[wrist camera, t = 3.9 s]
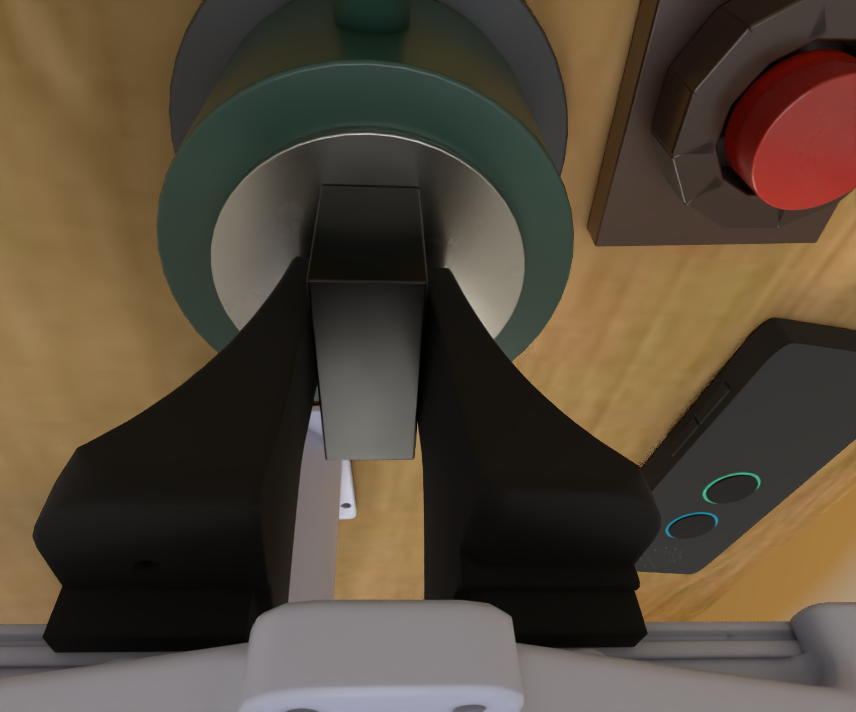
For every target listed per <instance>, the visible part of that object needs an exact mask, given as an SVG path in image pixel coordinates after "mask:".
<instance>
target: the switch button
mask: <svg viewBox="0 0 856 712" xmlns="http://www.w3.org/2000/svg"><path fill="white" fill-rule="evenodd" d="M724 147H725V154H726V157H727V160H728V162H729V164H730V166H731V167H732V168H733V169H734V171H735V172H736V173H737V174H738V175H739V176H740V177H741V178H742V179H743V180H744V181H745V183H746V184H747V185H748V186H749V187H750V188H751V189H752V190H753V191H754V192H755V193H756V195H757V196H758V197H759V198H760V199H761V200H763V201H764V202H765V203H767V204H769V205H770V206H773V207H776V208H779V209H785V210H803V209H808V208H813V207H816V206H820V205H823V204H825V203H828V202H830V201H833V200H835V199H837V198H839V197H841V196H842V195H844V194H846V193H848V192H849V191H851V190H852V189H854V188H855V187H856V58H854V57H853V56H851V55H849V54H847V53H845V52H843V51H839V50H835V49H815V50H811V51H806V52H803V53H799V54H796V55H794V56H792V57H789V58H787V59H785V60H783V61H782V62H780V63H778V64H776V65H775V66H773V67H772V68H771V69H769V70H768V71H766V72H765V73H764V74H763V75H762V76H760V77H759V78H758V79H757V80H756V81H755V82H754V83H753V84H752V85H751V86H750V87H749V88H748V90H747V91H746V92H745V93H744V94H743V96H742V97H741V99H740V100H739V101H738V103H737V105H736V106H735V108H734V110H733V112H732V114H731V116H730V119H729V121H728V124H727V128H726V132H725V141H724Z"/></svg>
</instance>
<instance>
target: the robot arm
mask: <svg viewBox="0 0 856 712" xmlns="http://www.w3.org/2000/svg"><path fill="white" fill-rule="evenodd" d="M309 261H310V257H302V256H296V257H295V258H294V259H292V260H291V262H290V264H289V266H288V268H287V269H286V271H285V273H284V274H283V276H282V278H281V279H280V281H279V282H278V284H277V285H276V287H275V288H274V290H273V291H272V292H271V294H270V295H269V296H268V298H267V299H266V300H265V302H264V303H263V304H262V306H261V307H260V308H259V310H258V311H257V312H256V313H255V315H254V316H253V317H252V318H251V319H250V320H249V321H248V323H247V324H246V325H245V326H244V327H243V328H242V329H241V331H240V332H239V333H238V334H237V335H236V336H235V337H234V338H233V339H232V340H231V341H230V342H229V343H228V344H227V345H226V346H225V347H224V348H223V349H222V350H221V351H220V352H219V353H218V354H217V355H216V356H215V357H214V358H213V359H212V360H211V361H210V362H208V363H207V364H206V365H205V366H204V367H203V368H202V369H200V370H199V371H198V372H197V373H195V374H194V375H193V376H192V377H191V378H189V379H188V380H187V381H186V382H185V383H183V384H182V385H181V386H179V387H178V388H177V389H175V390H174V391H173V392H171V393H170V394H169V395H167V396H166V397H164V398H163V399H161V400H160V401H158V402H157V403H155V404H154V405H152V406H151V407H149V408H148V409H146V410H145V411H143V412H142V413H140V414H139V415H137V416H135V417H134V418H132V419H130V420H129V421H127V422H125V423H123V424H122V425H120V426H118V427H116V428H114V429H112V430H110V431H109V432H107V433H105V434H103V435H101V436H99V437H98V438H96V439H94V440H92V441H90V442H88V443H86V444H84V445H82V446H80V447H78V448H77V449H76V451H75V452H74V454H73V455H72V457H71V459H70V460H69V462H68V463H67V465H66V466H65V468H64V469H63V471H62V472H61V474H60V476H59V477H58V479H57V480H56V482H55V484H54V486H53V488H52V490H51V492H50V494H49V496H48V498H47V501H46V503H45V505H44V507H43V509H42V511H41V513H40V515H39V517H38V520H37V522H36V524H35V527H34V531H33V536H32V537H33V540H34V542H35V545H36V547H37V549H38V551H39V552H40V554H41V555H42V556H43V558H44V559H45V561H46V562H47V564H48V565H49V567H50V568H51V570H52V571H53V573H54V574H55V576H56V577H57V578H58V580H59V581H60V583H61V584H62V589H61V591H60V594H59V596H58V599H57V601H56V604H55V606H54V609H53V611H52V614H51V616H50V619H49V621H48V624H0V712H856V602H854V603H852V602H846V603H845V602H833V603H831V602H828V603H818V604H815V605H811V606H808V607H806V608H805V609H802V610H801V611H799V612H798V613H797V614H796V615H794V616H793V617H792V619H791V620H790V622H789V621H788V622H644V619H643V616H642V613H641V610H640V607H639V603H638V600H637V597H636V594H635V591H634V590H637V589H638V588H639V587H640V581H639V578H638V575H637V571H636V568H635V565H634V564H635V563H636V562H637V561H638V559H639V558H640V557H641V556H642V554H643V553H644V552H645V551H646V549H647V548H648V547H649V546H650V545H651V543H652V542H653V541H654V539H655V538H656V536H657V534H658V532H659V530H660V529H661V515H660V512H659V510H658V507H657V504H656V502H655V499H654V496H653V494H652V492H651V489H650V487H649V485H648V483H647V481H646V479H645V477H644V475H643V473H642V471H641V469H640V467H639V466H638V465H637V464H635V463H633V462H632V461H630V460H629V459H627V458H626V457H624V456H623V455H621V454H619V453H618V452H616V451H615V450H613V449H612V448H610V447H609V446H607V445H605V444H604V443H602V442H601V441H599V440H598V439H597V438H595V437H594V436H592V435H591V434H590V433H588V432H587V431H586V430H584V429H583V428H582V427H580V426H579V425H578V424H576V423H575V422H574V421H573V420H571V419H570V418H569V417H568V416H566V415H565V414H564V413H563V412H562V411H560V410H559V409H558V408H557V407H556V406H555V405H554V404H553V403H551V402H550V401H549V400H548V399H547V398H546V397H545V396H544V395H542V394H541V393H540V392H539V391H538V390H537V389H536V388H535V387H534V386H533V385H532V384H531V383H530V382H529V381H528V380H527V379H526V378H525V377H524V376H523V374H522V373H521V372H520V371H519V370H518V369H517V368H516V367H515V366H514V364H513V363H512V362H511V361H510V360H509V358H508V357H507V356H506V355H505V353H504V352H503V351H502V350H501V348H500V347H499V346H498V344H497V343H496V342H495V340H494V339H493V338H492V336H491V335H490V334H489V332H488V331H487V329H486V328H485V326H484V325H483V323H482V322H481V320H480V319H479V317H478V316H477V314H476V313H475V311H474V310H473V308H472V306H471V305H470V303H469V302H468V300H467V298H466V296H465V295H464V293H463V291H462V290H461V288H460V286H459V284H458V282H457V280H456V279H455V277H454V275H453V273H452V272H451V270H450V269H449V268H443V267H430V266H426V267H427V278H428V289H427V302H426V315H425V328H424V341H423V355H422V368H421V381H420V394H419V407H418V428H419V435H420V443H421V451H422V463H423V490H424V600H334V588H335V572H336V555H337V539H338V522H339V520H341V519H352V518H354V517H355V516H356V514H357V507H356V500H355V492H354V484H353V476H352V469H351V461H350V460H326V459H325V453H324V443H323V434H322V424H321V415H320V406H313V402H314V397H315V392H316V387H317V377H316V367H315V358H314V348H313V339H312V329H311V320H310V310H309V301H308V291H307V282H306V281H307V274H308V268H309Z"/></svg>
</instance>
